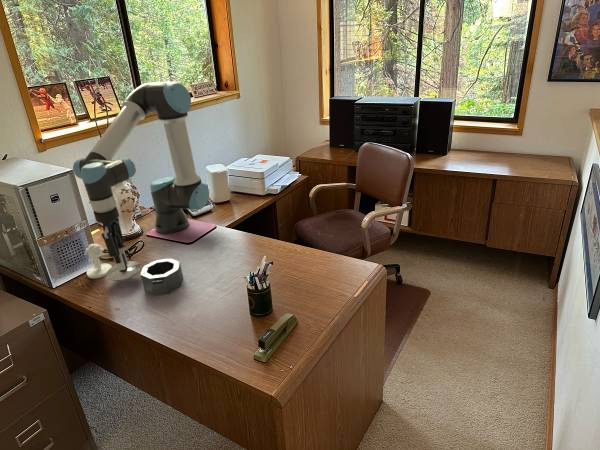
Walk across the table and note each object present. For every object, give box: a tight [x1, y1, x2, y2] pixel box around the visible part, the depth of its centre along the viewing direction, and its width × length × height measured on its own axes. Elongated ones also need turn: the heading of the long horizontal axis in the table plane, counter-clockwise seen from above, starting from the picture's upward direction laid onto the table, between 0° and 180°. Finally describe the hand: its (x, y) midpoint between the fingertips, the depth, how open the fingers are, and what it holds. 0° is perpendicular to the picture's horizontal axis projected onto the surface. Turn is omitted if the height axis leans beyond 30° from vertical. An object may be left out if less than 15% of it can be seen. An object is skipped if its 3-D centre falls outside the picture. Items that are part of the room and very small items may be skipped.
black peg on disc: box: [106, 254, 142, 282], centre depth 156 cm, size 12×12×7 cm
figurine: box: [84, 243, 113, 279], centre depth 164 cm, size 9×9×12 cm
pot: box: [140, 257, 184, 297], centre depth 153 cm, size 16×13×7 cm
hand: (122, 266), depth 157 cm, fingers closed on black peg on disc, 3 cm apart
